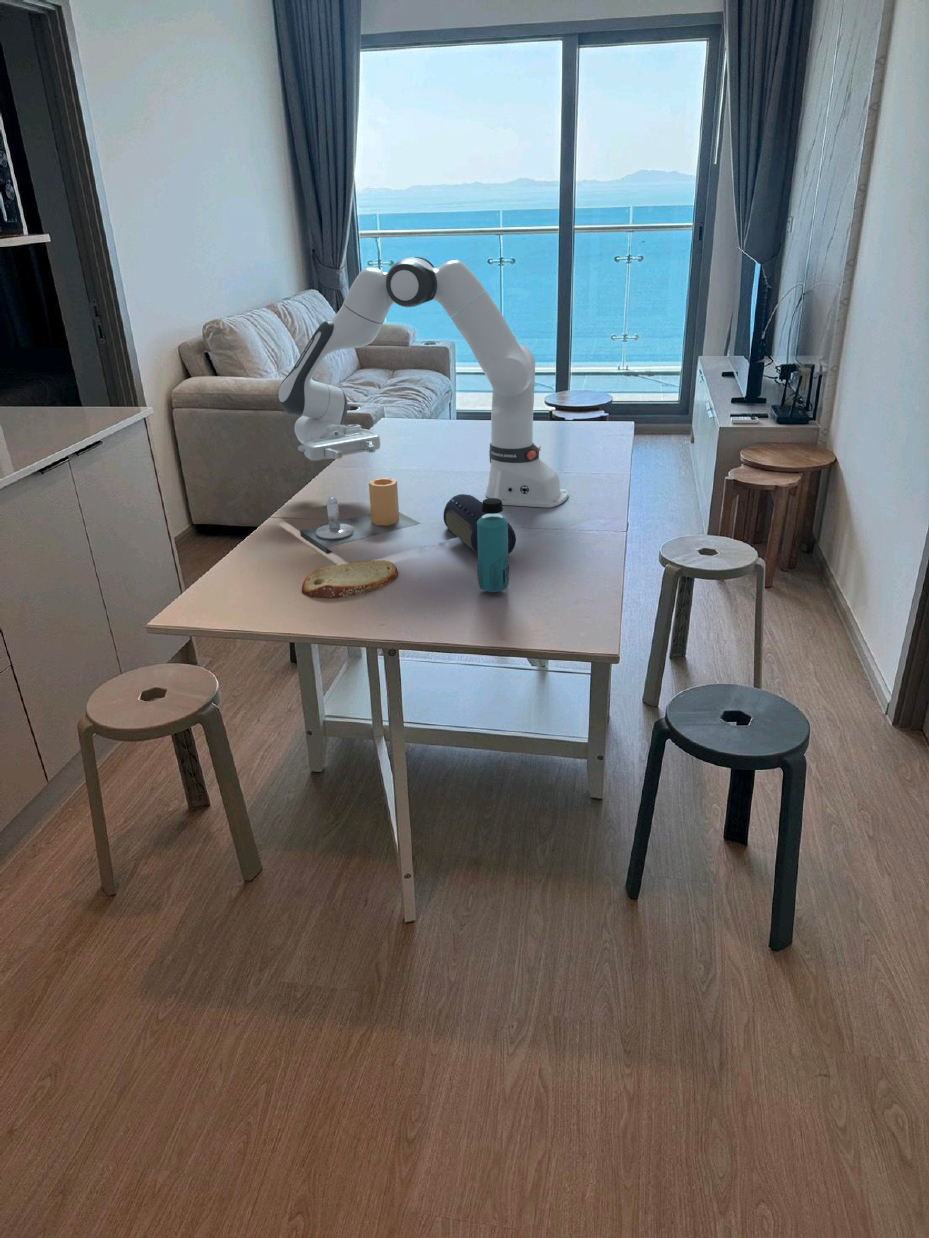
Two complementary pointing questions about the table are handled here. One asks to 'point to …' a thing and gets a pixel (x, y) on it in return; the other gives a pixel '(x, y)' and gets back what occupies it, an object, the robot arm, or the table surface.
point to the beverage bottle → (492, 547)
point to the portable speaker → (469, 520)
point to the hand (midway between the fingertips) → (356, 452)
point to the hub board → (348, 528)
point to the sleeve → (384, 501)
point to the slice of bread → (349, 579)
